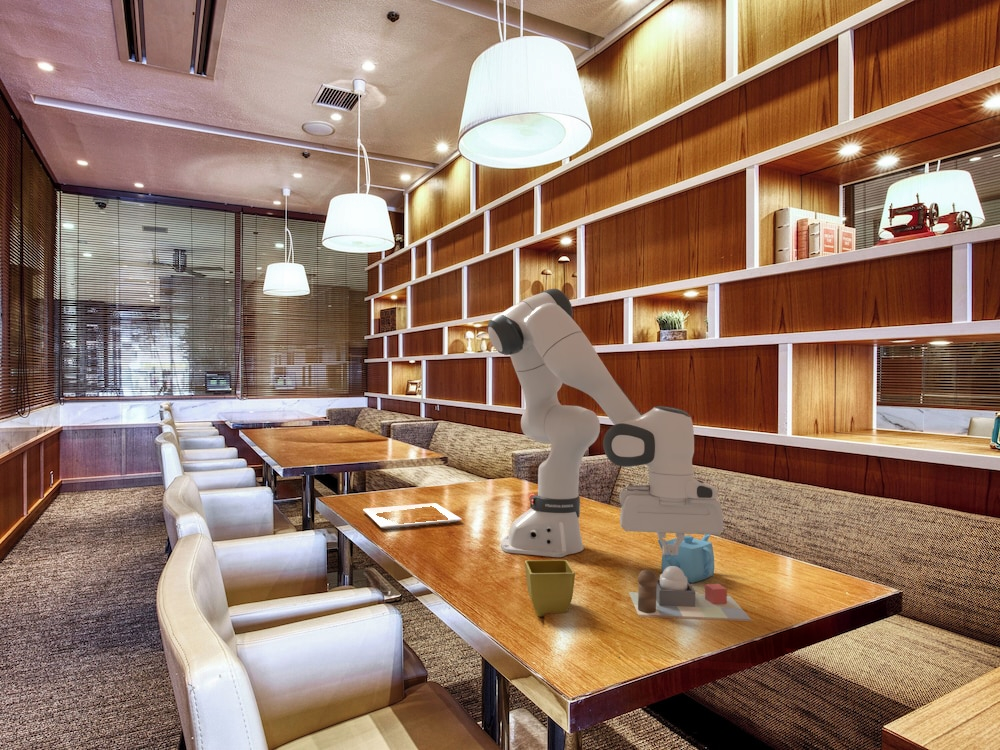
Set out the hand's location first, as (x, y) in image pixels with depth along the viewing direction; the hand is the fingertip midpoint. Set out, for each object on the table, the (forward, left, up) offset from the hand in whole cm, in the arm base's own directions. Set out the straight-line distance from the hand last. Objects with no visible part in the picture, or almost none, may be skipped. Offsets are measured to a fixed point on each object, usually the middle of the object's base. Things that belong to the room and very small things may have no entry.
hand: (670, 554), depth 118 cm
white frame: (-69, +67, -11) cm, 97 cm away
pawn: (-6, -5, -9) cm, 12 cm away
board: (+3, -2, -10) cm, 11 cm away
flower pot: (-25, -6, -11) cm, 27 cm away
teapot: (+7, +17, -11) cm, 21 cm away
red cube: (+9, +1, -9) cm, 13 cm away
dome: (+1, +1, -8) cm, 8 cm away
